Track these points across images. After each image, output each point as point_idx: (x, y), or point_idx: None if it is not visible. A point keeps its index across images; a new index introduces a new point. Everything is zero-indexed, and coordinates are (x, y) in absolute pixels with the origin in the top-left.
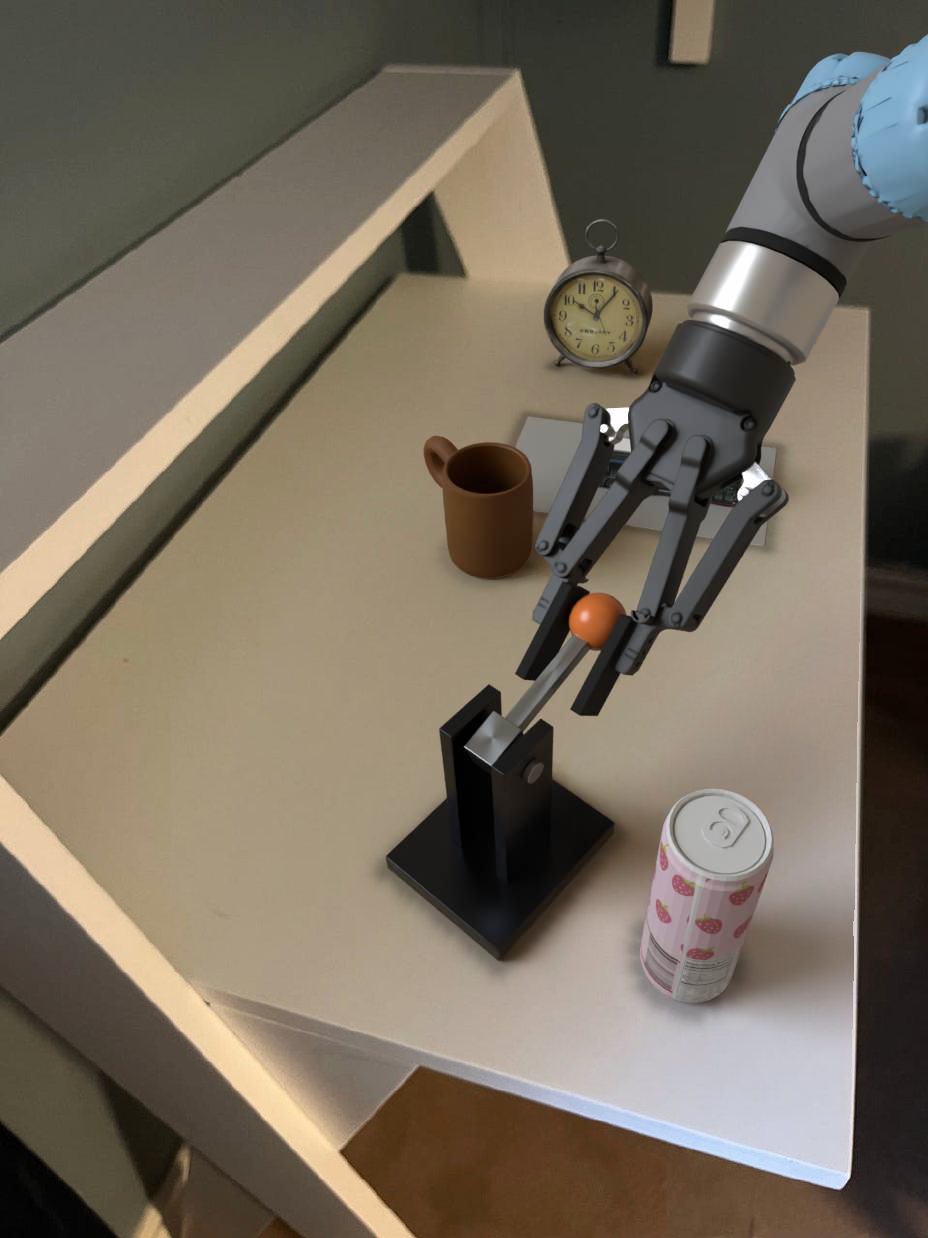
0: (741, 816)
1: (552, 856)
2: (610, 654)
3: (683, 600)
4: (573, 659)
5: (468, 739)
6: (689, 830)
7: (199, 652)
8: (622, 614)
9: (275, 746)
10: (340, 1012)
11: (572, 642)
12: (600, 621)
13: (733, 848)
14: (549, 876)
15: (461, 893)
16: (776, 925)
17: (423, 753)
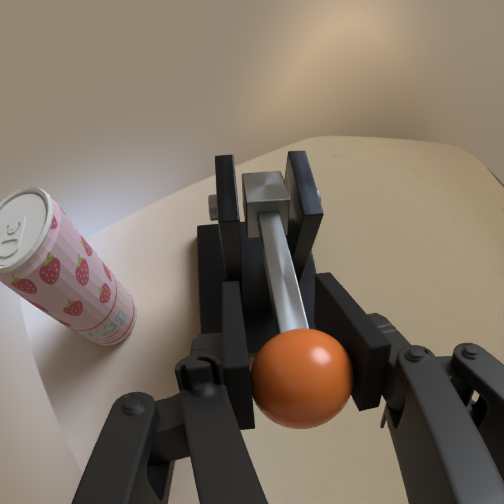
0: (2, 252)
1: (218, 298)
2: (224, 325)
3: (130, 435)
4: (275, 303)
5: (289, 187)
6: (34, 211)
7: (498, 239)
8: (246, 369)
9: (423, 230)
10: (245, 164)
11: (298, 318)
12: (279, 349)
13: (3, 225)
14: (208, 285)
15: (245, 234)
16: (79, 376)
17: (367, 300)
